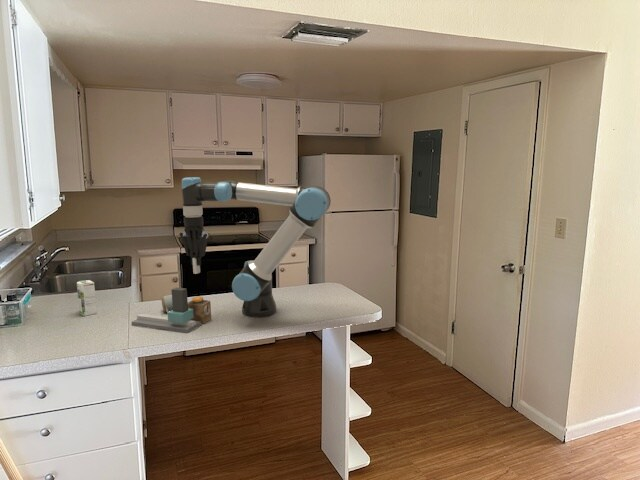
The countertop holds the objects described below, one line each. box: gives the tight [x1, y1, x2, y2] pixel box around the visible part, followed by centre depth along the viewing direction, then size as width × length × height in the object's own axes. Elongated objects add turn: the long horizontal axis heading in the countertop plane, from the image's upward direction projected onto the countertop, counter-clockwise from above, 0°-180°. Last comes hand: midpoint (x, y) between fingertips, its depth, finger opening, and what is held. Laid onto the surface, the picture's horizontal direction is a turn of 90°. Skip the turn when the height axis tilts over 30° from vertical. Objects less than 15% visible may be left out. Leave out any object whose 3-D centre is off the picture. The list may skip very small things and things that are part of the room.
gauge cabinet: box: [188, 299, 212, 325], centre depth 185 cm, size 9×6×8 cm
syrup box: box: [76, 279, 98, 317], centre depth 194 cm, size 6×6×14 cm
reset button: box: [191, 295, 204, 302], centre depth 184 cm, size 4×4×1 cm
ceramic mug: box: [161, 294, 173, 314], centre depth 196 cm, size 11×8×8 cm
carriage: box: [167, 287, 194, 324], centre depth 176 cm, size 7×7×13 cm
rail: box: [131, 313, 202, 334], centre depth 180 cm, size 27×9×3 cm, turn 70°
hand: (196, 272), depth 182 cm, fingers closed
